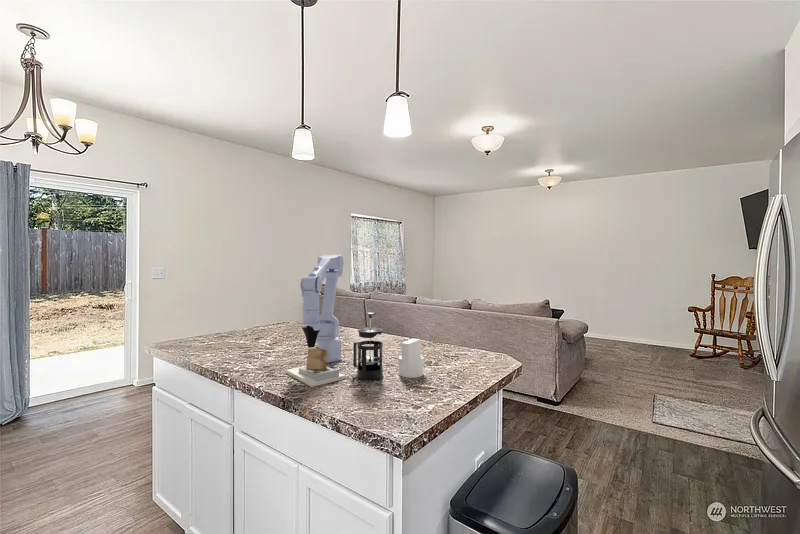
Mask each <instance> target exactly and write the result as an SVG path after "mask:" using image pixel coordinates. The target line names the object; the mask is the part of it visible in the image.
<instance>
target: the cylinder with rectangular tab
mask: <svg viewBox="0 0 800 534" xmlns="http://www.w3.org/2000/svg"><path fill="white" fill-rule="evenodd" d="M398 375H399V376H401V377H404V378H411V379H412V378H413V379H415V378H419V377H423V376H424V356H422V355H421V338H411V339H408V340H406V341H402V342H401V355H399V356H398Z"/></svg>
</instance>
